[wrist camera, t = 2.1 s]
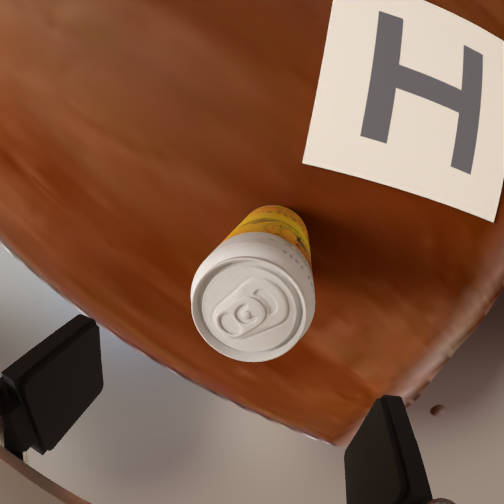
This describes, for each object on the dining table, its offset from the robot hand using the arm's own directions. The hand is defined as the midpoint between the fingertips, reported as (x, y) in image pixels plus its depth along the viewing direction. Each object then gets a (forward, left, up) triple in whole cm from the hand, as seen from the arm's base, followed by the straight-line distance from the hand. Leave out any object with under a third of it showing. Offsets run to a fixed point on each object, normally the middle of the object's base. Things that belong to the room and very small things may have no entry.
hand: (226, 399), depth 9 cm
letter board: (-17, +11, -20) cm, 29 cm away
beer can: (0, 0, -20) cm, 20 cm away
